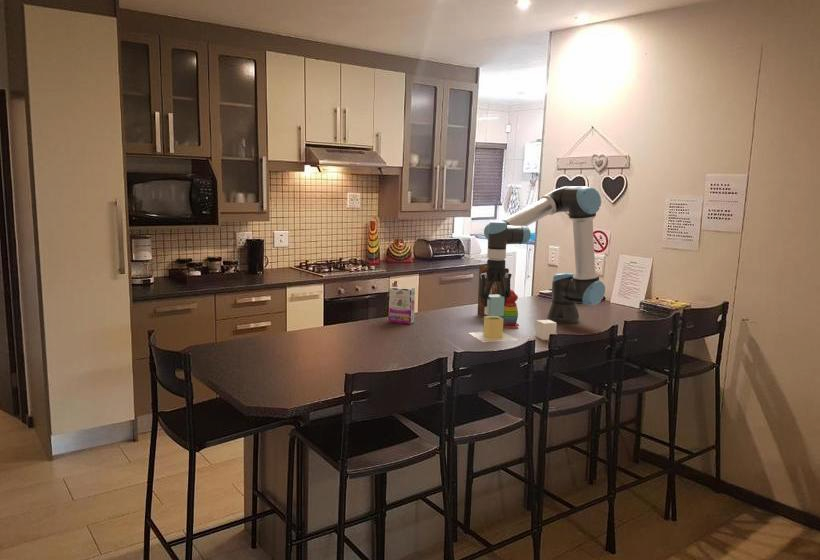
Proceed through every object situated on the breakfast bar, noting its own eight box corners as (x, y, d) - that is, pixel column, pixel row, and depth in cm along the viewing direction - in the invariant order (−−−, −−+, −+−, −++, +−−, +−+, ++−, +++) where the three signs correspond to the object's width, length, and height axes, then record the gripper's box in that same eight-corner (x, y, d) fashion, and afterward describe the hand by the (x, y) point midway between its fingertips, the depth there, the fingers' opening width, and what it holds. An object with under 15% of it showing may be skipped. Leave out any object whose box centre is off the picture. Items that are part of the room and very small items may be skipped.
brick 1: (497, 312, 257) (498, 294, 256) (503, 315, 251) (504, 296, 250) (484, 313, 255) (485, 294, 254) (490, 316, 250) (491, 297, 248)
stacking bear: (518, 331, 268) (520, 292, 265) (495, 330, 270) (497, 290, 267) (519, 326, 279) (521, 288, 276) (497, 324, 281) (498, 287, 278)
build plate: (501, 333, 265) (501, 330, 265) (518, 342, 250) (518, 340, 250) (467, 335, 260) (467, 332, 260) (483, 344, 245) (483, 342, 245)
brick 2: (548, 338, 258) (549, 319, 257) (555, 341, 253) (556, 322, 251) (535, 338, 257) (536, 320, 255) (542, 342, 251) (543, 323, 250)
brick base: (496, 334, 258) (497, 315, 257) (502, 337, 253) (503, 318, 252) (483, 335, 257) (484, 316, 255) (489, 338, 251) (490, 319, 250)
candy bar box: (414, 322, 281) (415, 287, 279) (410, 324, 277) (411, 289, 274) (392, 320, 285) (393, 285, 283) (388, 322, 281) (388, 287, 278)
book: (475, 315, 301) (477, 265, 297) (484, 313, 304) (486, 264, 300) (498, 321, 288) (500, 269, 284) (506, 320, 291) (509, 268, 287)
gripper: (512, 257, 256) (510, 311, 260) (471, 258, 250) (469, 313, 254) (521, 259, 249) (518, 314, 253) (478, 260, 243) (476, 316, 247)
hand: (493, 313), depth 253 cm, fingers closed on brick 1, 6 cm apart
